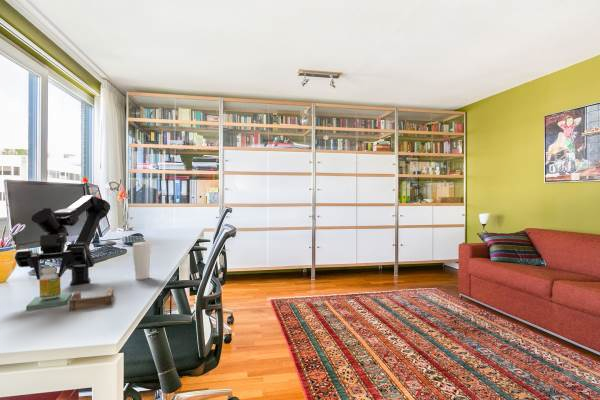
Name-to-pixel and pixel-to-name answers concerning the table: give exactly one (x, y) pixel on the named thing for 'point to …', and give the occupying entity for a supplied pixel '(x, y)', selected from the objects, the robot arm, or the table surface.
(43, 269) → the supplement bottle
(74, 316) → the table surface
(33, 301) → the green mat
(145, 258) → the white tall cylinder
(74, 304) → the frame
